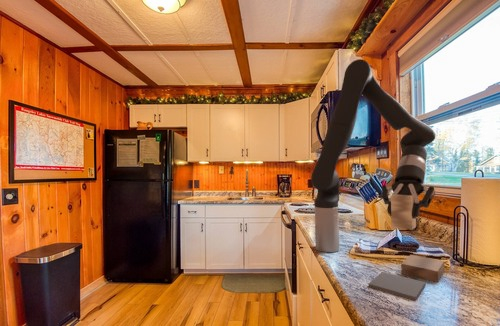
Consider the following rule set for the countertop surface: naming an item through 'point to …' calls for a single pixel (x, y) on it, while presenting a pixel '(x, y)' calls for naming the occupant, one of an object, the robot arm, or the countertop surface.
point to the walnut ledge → (423, 268)
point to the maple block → (402, 212)
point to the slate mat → (398, 285)
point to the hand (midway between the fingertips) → (401, 215)
